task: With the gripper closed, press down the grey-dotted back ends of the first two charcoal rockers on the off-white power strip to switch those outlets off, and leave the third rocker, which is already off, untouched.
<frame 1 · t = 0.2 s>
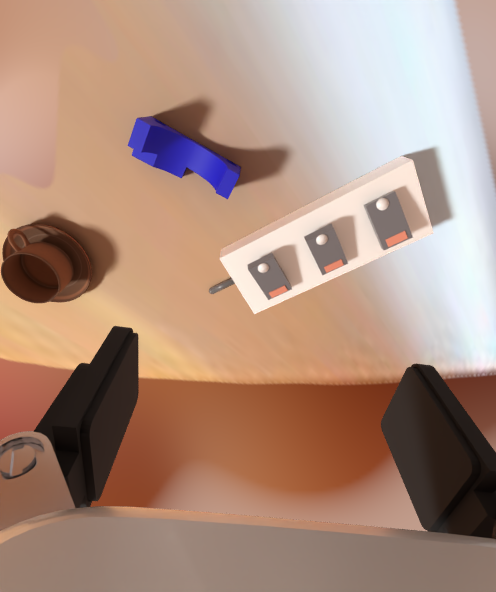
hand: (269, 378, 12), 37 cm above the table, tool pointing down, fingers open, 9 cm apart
rocker 2: (326, 250, 43), point 5 cm above the table, hinge at 12.0°
power strip: (319, 237, 47), on the table
cup and saucer: (54, 259, 50), on the table
rocker 3: (388, 221, 41), point 5 cm above the table, hinge at -12.0°
cable clip: (190, 159, 43), on the table
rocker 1: (270, 277, 45), point 5 cm above the table, hinge at 12.0°
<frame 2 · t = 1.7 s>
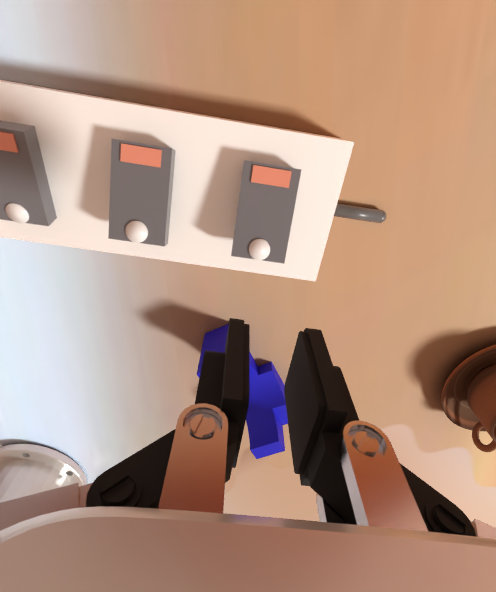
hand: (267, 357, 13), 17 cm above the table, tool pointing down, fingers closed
rocker 2: (141, 194, 22), point 5 cm above the table, hinge at 12.0°
power strip: (159, 180, 26), on the table
cup and saucer: (490, 376, 36), on the table
rocker 3: (11, 175, 21), point 5 cm above the table, hinge at -12.0°
cable clip: (251, 366, 36), on the table
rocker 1: (264, 213, 22), point 5 cm above the table, hinge at 12.0°
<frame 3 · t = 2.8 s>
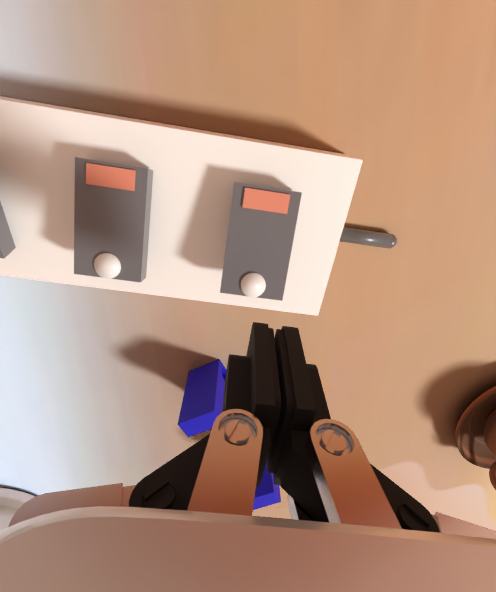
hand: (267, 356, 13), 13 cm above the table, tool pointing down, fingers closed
rocker 2: (113, 222, 18), point 5 cm above the table, hinge at 12.0°
power strip: (138, 202, 23), on the table
cable clip: (242, 404, 32), on the table
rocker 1: (258, 243, 19), point 5 cm above the table, hinge at 12.0°
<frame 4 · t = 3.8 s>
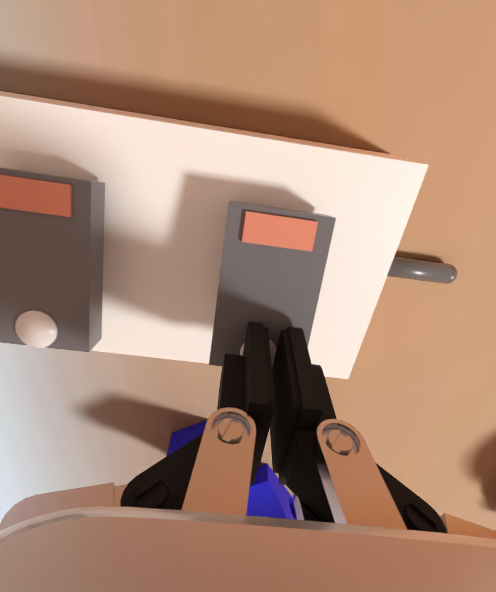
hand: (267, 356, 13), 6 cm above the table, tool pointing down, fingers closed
rocker 2: (44, 262, 12), point 5 cm above the table, hinge at 12.0°
power strip: (99, 222, 16), on the table
cable clip: (240, 468, 26), on the table
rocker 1: (267, 291, 13), point 5 cm above the table, hinge at 10.2°, touching gripper
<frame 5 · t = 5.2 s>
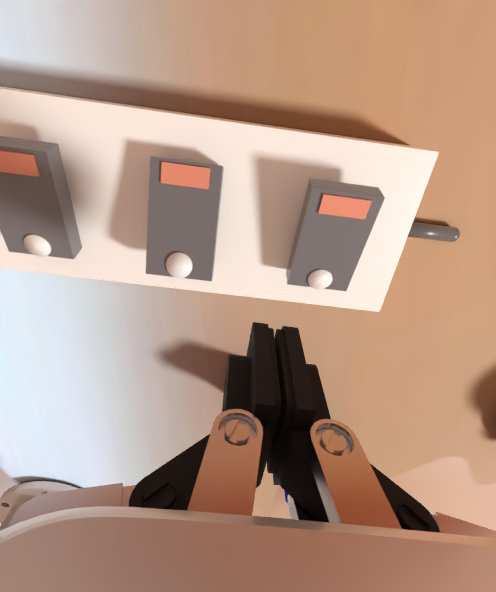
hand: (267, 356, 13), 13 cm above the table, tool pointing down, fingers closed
rocker 2: (184, 221, 18), point 5 cm above the table, hinge at 12.0°
power strip: (196, 199, 23), on the table
rocker 3: (31, 202, 18), point 5 cm above the table, hinge at -12.0°
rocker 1: (329, 240, 19), point 5 cm above the table, hinge at -12.0°
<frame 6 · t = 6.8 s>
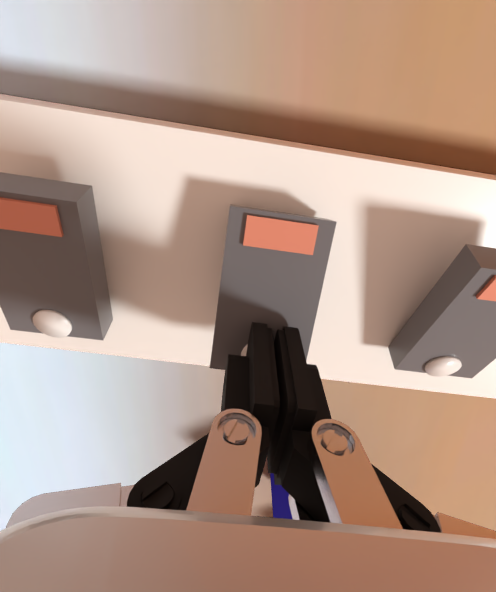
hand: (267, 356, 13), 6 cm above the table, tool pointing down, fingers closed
rocker 2: (267, 294, 13), point 5 cm above the table, hinge at 10.9°, touching gripper
power strip: (262, 247, 17), on the table
rocker 3: (46, 266, 12), point 5 cm above the table, hinge at -12.0°
cable clip: (328, 484, 27), on the table
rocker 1: (469, 321, 13), point 5 cm above the table, hinge at -17.9°
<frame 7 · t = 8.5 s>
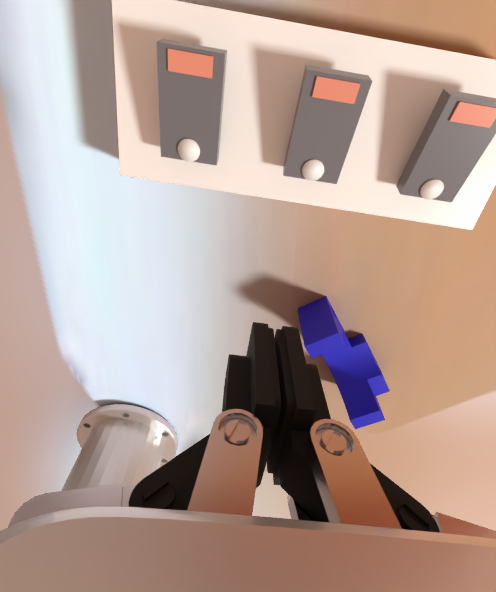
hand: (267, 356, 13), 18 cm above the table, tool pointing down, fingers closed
rocker 2: (322, 129, 21), point 5 cm above the table, hinge at -14.5°
power strip: (311, 122, 25), on the table
rocker 3: (191, 107, 20), point 5 cm above the table, hinge at -12.0°
cable clip: (341, 339, 36), on the table
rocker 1: (448, 151, 21), point 5 cm above the table, hinge at -14.9°
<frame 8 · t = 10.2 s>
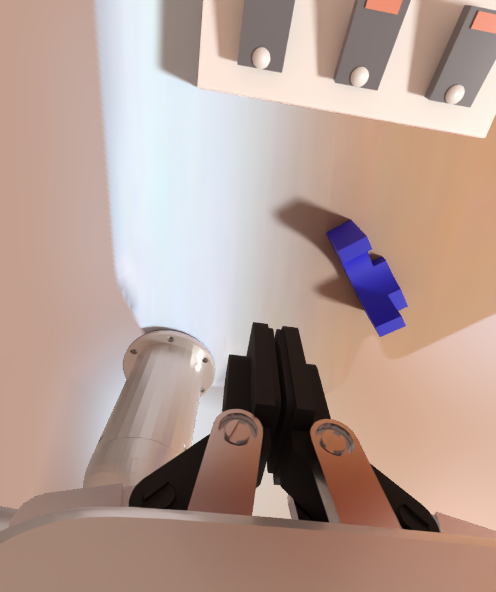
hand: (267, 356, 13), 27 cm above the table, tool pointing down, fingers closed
rocker 2: (369, 40, 26), point 5 cm above the table, hinge at -16.8°
power strip: (351, 50, 30), on the table
rocker 3: (266, 20, 25), point 5 cm above the table, hinge at -12.0°
cable clip: (363, 263, 41), on the table
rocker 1: (467, 59, 26), point 5 cm above the table, hinge at -13.6°
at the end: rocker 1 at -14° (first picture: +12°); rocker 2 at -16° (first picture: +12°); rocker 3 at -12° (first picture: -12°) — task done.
